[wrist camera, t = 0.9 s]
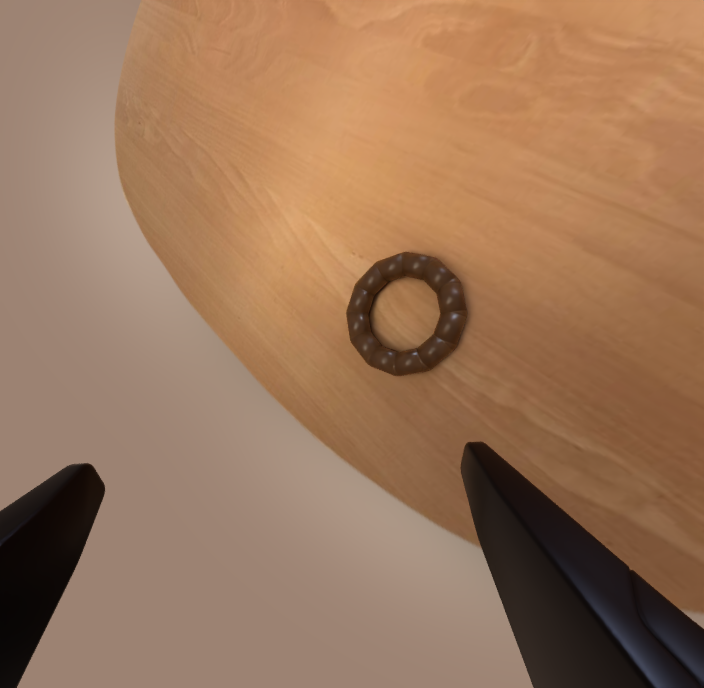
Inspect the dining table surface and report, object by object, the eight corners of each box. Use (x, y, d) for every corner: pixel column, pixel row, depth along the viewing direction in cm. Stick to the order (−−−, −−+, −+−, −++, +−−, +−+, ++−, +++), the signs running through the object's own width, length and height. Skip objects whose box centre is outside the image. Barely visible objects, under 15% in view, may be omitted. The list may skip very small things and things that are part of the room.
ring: (495, 316, 21) (492, 312, 20) (399, 399, 24) (391, 400, 22) (412, 234, 24) (404, 225, 23) (334, 314, 27) (323, 311, 26)
